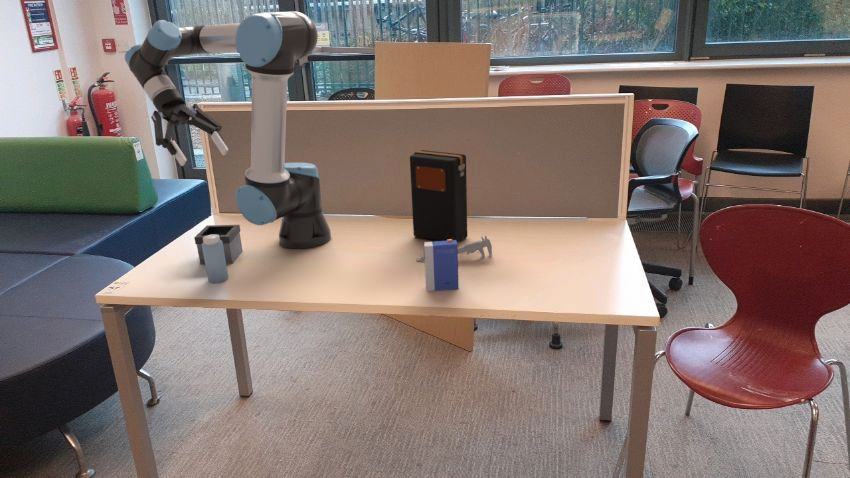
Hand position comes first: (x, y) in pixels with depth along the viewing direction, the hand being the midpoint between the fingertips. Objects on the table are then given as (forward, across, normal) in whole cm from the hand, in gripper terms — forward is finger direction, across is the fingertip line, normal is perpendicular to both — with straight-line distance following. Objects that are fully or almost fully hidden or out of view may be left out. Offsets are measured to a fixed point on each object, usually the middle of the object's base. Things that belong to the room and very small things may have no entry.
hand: (205, 157), depth 173 cm
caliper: (+62, -28, +29) cm, 74 cm away
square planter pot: (+24, +4, -14) cm, 28 cm away
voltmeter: (+54, -39, +20) cm, 69 cm away
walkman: (+66, -11, +34) cm, 75 cm away
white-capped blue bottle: (+31, +14, -6) cm, 35 cm away
